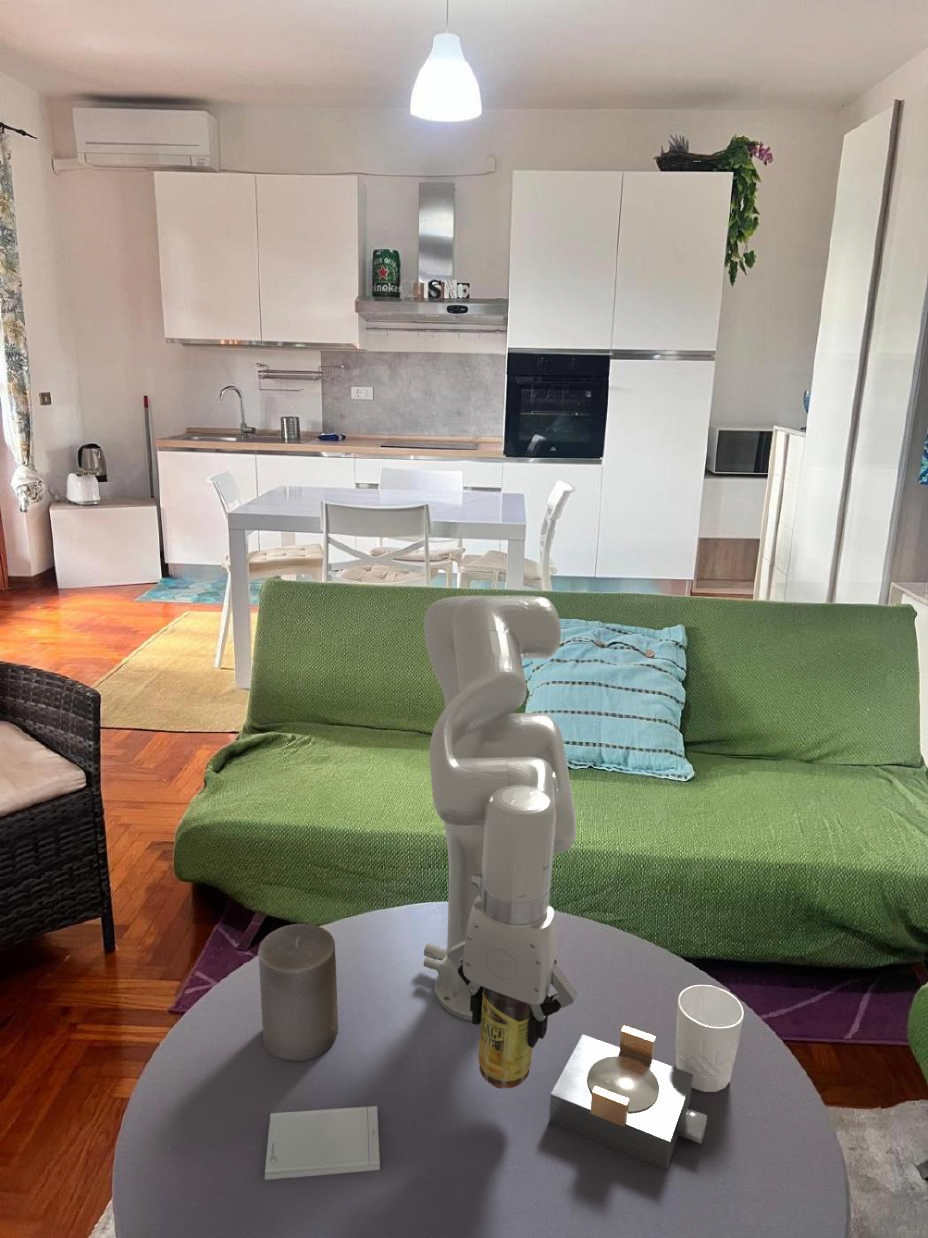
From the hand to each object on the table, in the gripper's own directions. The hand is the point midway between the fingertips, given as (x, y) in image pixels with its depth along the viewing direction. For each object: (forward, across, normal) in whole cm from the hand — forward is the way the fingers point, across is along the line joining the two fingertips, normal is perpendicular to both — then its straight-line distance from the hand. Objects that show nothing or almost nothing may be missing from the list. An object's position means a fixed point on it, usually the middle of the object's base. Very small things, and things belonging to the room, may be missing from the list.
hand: (507, 1027), depth 105 cm
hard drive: (+12, -16, -15) cm, 25 cm away
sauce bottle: (+7, 0, 0) cm, 7 cm away
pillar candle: (+12, -28, -2) cm, 31 cm away
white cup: (+12, +20, +17) cm, 29 cm away
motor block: (+11, +14, +6) cm, 19 cm away
